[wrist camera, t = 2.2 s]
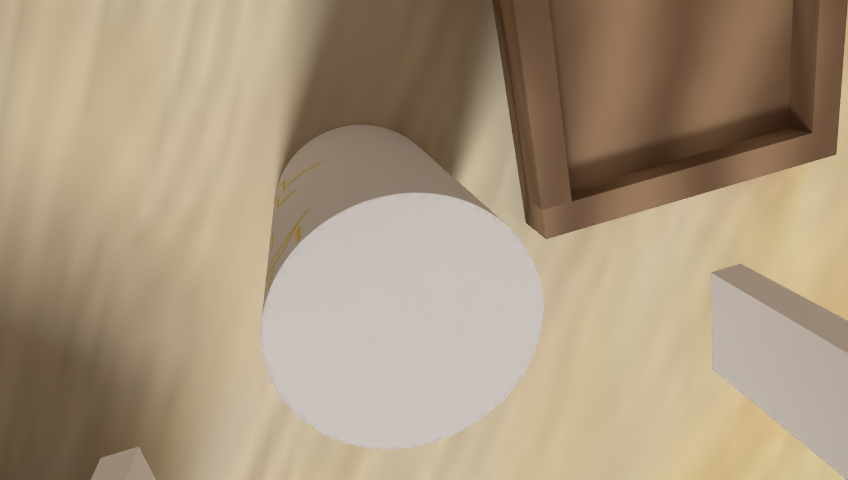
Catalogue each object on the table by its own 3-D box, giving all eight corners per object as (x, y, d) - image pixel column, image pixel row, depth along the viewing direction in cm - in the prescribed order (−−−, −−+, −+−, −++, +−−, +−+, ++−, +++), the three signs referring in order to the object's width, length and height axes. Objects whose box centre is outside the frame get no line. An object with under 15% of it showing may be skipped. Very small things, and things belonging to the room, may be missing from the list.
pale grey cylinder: (261, 132, 25) (237, 211, 14) (440, 117, 26) (547, 177, 15) (287, 298, 28) (283, 472, 17) (446, 275, 29) (540, 422, 18)
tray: (525, 222, 29) (545, 239, 27) (472, -135, 23) (492, -153, 21) (796, 145, 31) (836, 154, 29) (811, -202, 25) (864, -226, 23)
